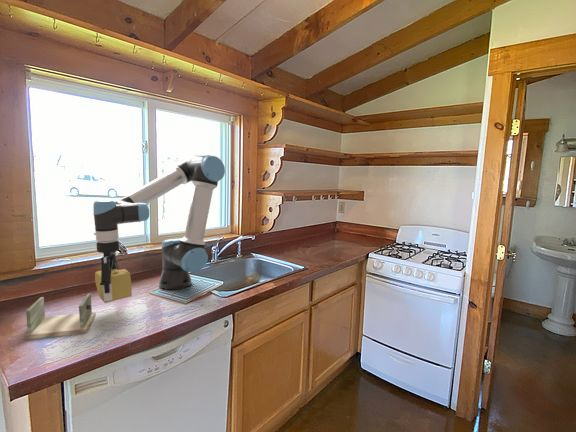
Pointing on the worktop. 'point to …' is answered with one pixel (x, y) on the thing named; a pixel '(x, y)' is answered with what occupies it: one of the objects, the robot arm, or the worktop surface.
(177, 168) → the robot arm
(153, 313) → the worktop surface
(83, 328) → the holder
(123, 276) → the cheese
